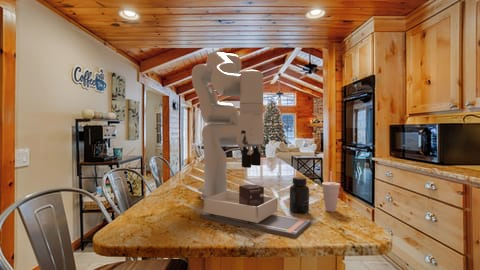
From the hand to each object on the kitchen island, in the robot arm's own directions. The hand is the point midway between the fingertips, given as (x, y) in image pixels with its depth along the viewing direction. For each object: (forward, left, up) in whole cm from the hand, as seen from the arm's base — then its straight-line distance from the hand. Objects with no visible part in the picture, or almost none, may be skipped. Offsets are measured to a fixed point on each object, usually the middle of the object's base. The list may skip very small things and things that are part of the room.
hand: (251, 165), depth 90 cm
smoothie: (+19, +25, -18) cm, 36 cm away
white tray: (-4, 0, -16) cm, 17 cm away
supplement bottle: (+10, +17, -18) cm, 26 cm away
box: (0, 0, -14) cm, 14 cm away
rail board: (+1, 0, -17) cm, 17 cm away
